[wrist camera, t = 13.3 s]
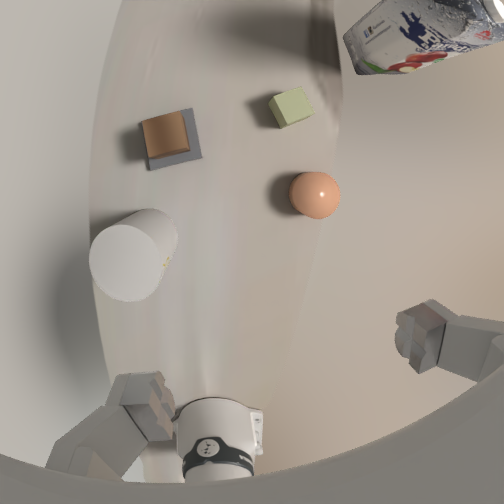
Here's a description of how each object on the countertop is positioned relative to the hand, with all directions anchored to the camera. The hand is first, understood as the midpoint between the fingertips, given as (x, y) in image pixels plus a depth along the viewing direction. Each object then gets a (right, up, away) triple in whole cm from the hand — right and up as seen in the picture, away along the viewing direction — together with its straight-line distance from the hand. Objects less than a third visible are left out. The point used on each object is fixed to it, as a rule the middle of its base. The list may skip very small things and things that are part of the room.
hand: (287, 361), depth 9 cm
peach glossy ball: (+7, +12, +30) cm, 33 cm away
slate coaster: (-12, +18, +26) cm, 34 cm away
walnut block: (-12, +18, +25) cm, 33 cm away
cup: (-15, +6, +29) cm, 34 cm away
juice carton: (+18, +35, +25) cm, 46 cm away
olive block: (+4, +23, +27) cm, 35 cm away
